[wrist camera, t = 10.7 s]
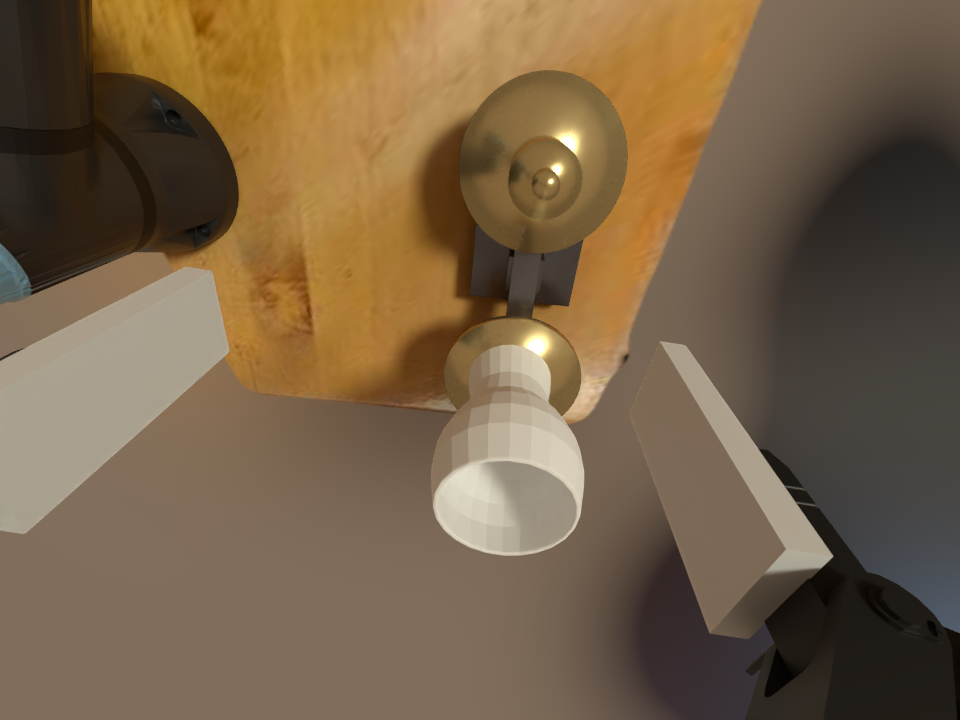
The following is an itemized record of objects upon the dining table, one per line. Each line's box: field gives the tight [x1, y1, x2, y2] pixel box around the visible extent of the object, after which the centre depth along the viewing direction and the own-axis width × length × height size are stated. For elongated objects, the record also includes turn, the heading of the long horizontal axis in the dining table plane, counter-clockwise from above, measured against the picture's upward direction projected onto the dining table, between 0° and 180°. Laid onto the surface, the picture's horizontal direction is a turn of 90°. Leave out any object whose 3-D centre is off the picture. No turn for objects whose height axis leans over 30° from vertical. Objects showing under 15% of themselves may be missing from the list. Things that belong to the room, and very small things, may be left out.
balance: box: [444, 70, 628, 416], centre depth 37 cm, size 13×31×12 cm, turn 175°
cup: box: [431, 345, 584, 555], centre depth 33 cm, size 11×11×15 cm
